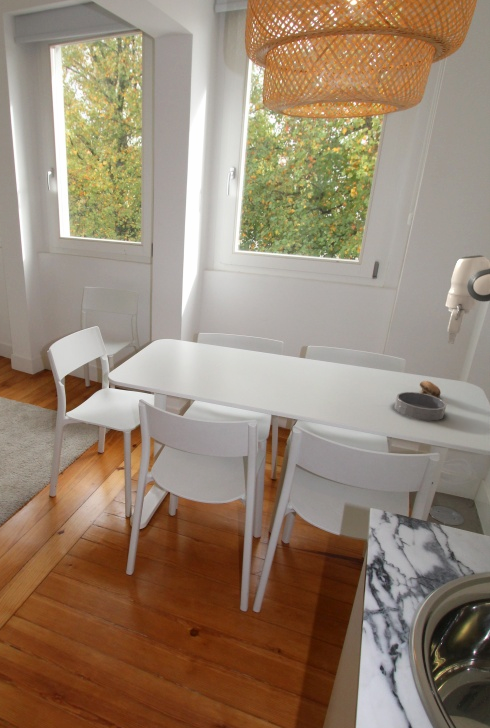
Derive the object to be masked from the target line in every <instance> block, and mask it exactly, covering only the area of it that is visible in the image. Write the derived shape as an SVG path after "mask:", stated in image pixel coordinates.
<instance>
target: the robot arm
mask: <svg viewBox="0 0 490 728" xmlns="http://www.w3.org/2000/svg"><path fill="white" fill-rule="evenodd" d="M450 282H451V284H450V288H449V290H448V291H447V297H446V300H445V301H446V302H445V305H444V306H445V307H446V308H448V310H447V311H448V313H449V312H450V313H451V314H450V317H449V322H448V325H447V333H449V334H448V340H447V343H448V344H450V345H451V344H454V343H455V340H456V337H457V334H460V332H461V330H462V329H461V328H462V325H463V321H464V319H465V317H466V314H467V315H468V314H470V311H471V310H474V309H476V305H477V302H482V303H483V302H484V303H485V302H490V260H489V259H488V258H487V257H486V256H485V255H481V254H479V255H478V254H477V255H469V256H463V257H461V258H459V259H458V260H457V261H456V264H455V266H454V268H453V272H452V276H451V279H450Z"/></svg>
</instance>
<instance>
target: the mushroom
mask: <svg viewBox="0 0 490 728" xmlns="http://www.w3.org/2000/svg"><path fill="white" fill-rule="evenodd" d="M419 387H420V388H421V390H420V391H419V393H423V394H427V395H431V396H434V397H436V398H440V396H441V389H440V388H439V386H438V385H436V384H434V383H433V382H432V381H429V380H422V381H421V382H420V383H419Z"/></svg>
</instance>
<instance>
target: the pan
mask: <svg viewBox="0 0 490 728" xmlns="http://www.w3.org/2000/svg"><path fill="white" fill-rule="evenodd" d="M446 408H447V403H446V401H444V400H443V399H441V398H440V397H438V398H436V397H434V396H431V395H427V394H423V393H420V392H415V391H404V392H400V393H398V394H397V395H396V398H395V402H394V410H396V412H398V413H400V414H402V415H403V416H407V417H410V418H413V419H417V420H421V421H422V420H423V421H439V420H442V419H443V418H444V415H445V412H446Z"/></svg>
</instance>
